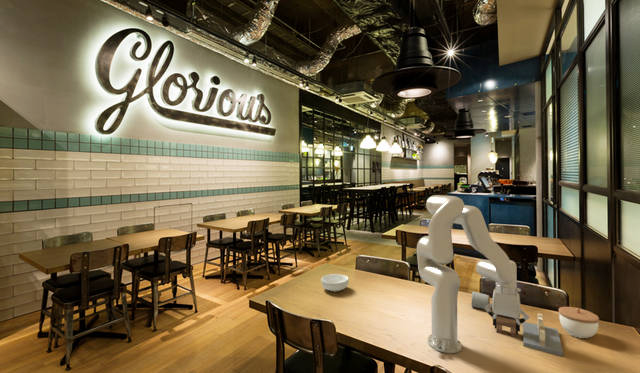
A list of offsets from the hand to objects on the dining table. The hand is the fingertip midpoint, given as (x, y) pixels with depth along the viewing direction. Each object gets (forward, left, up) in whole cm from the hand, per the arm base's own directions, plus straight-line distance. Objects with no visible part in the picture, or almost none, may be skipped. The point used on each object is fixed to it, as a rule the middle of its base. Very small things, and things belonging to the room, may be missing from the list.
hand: (506, 329), depth 122 cm
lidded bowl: (+15, -25, -2) cm, 29 cm away
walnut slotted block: (0, 0, -1) cm, 1 cm away
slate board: (+2, -12, -1) cm, 12 cm away
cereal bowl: (+1, +88, -2) cm, 88 cm away
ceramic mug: (+22, +12, -2) cm, 25 cm away
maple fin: (+2, -12, 0) cm, 12 cm away
